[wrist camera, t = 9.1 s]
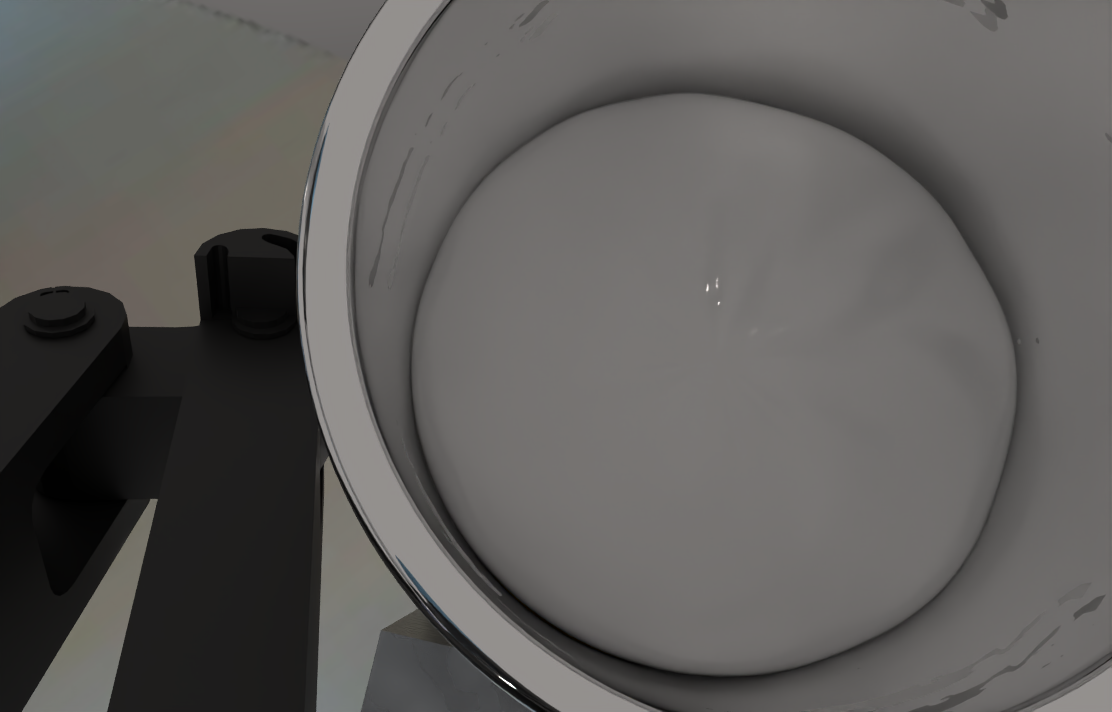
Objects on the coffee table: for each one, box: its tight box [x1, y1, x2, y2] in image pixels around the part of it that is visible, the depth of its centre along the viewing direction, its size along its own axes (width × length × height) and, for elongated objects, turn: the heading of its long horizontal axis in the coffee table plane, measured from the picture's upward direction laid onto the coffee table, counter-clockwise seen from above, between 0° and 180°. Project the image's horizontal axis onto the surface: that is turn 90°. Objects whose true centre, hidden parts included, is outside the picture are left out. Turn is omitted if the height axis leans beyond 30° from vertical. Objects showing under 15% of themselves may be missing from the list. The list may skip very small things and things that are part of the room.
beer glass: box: [296, 0, 1112, 712], centre depth 13 cm, size 7×7×15 cm
